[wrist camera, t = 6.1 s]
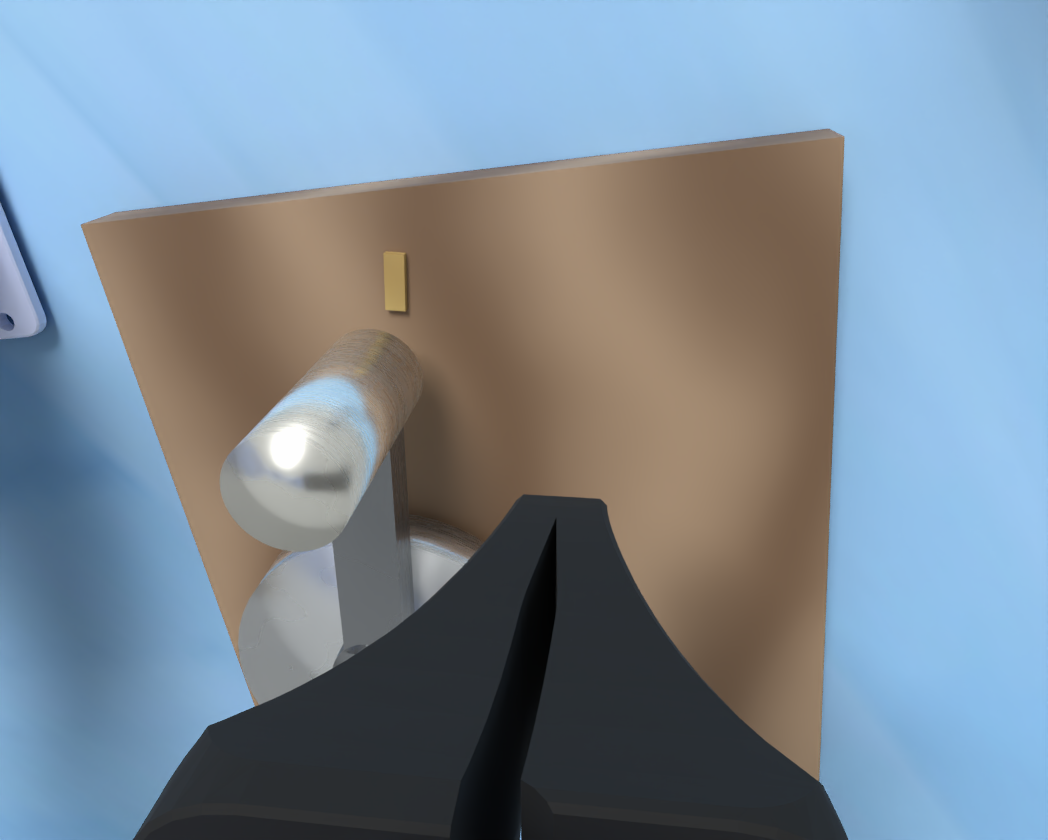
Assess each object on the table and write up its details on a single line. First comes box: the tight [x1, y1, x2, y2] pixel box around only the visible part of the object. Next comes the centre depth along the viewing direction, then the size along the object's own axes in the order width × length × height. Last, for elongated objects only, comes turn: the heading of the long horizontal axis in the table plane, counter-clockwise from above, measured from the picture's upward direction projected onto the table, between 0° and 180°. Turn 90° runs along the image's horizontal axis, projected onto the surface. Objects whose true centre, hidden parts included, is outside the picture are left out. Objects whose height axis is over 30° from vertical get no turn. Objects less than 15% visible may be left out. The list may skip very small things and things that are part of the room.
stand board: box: [81, 129, 844, 781], centre depth 23 cm, size 18×20×2 cm
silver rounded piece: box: [220, 329, 484, 705], centre depth 20 cm, size 15×9×6 cm, turn 179°
